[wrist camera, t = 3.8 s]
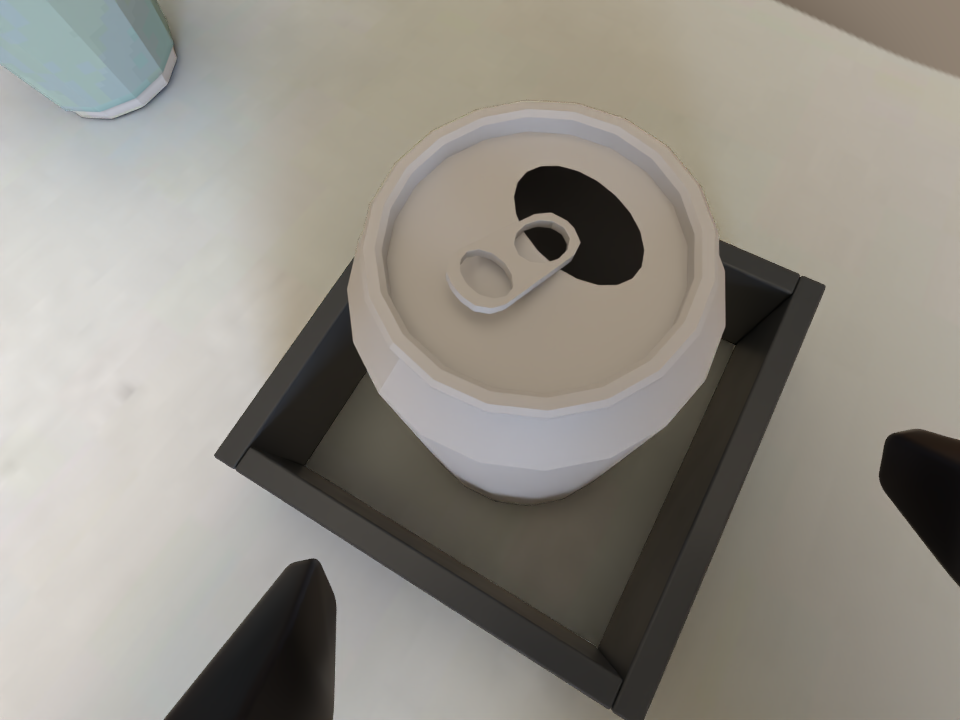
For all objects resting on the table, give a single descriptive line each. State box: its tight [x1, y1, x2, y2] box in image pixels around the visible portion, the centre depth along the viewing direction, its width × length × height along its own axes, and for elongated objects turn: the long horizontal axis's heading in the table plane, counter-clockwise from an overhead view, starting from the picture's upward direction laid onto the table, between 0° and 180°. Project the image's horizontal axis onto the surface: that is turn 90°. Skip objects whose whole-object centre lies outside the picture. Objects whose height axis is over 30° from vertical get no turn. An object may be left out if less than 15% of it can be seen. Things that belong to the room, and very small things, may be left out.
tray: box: [214, 240, 825, 720], centre depth 18 cm, size 14×14×4 cm
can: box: [347, 100, 725, 505], centre depth 15 cm, size 8×8×12 cm
